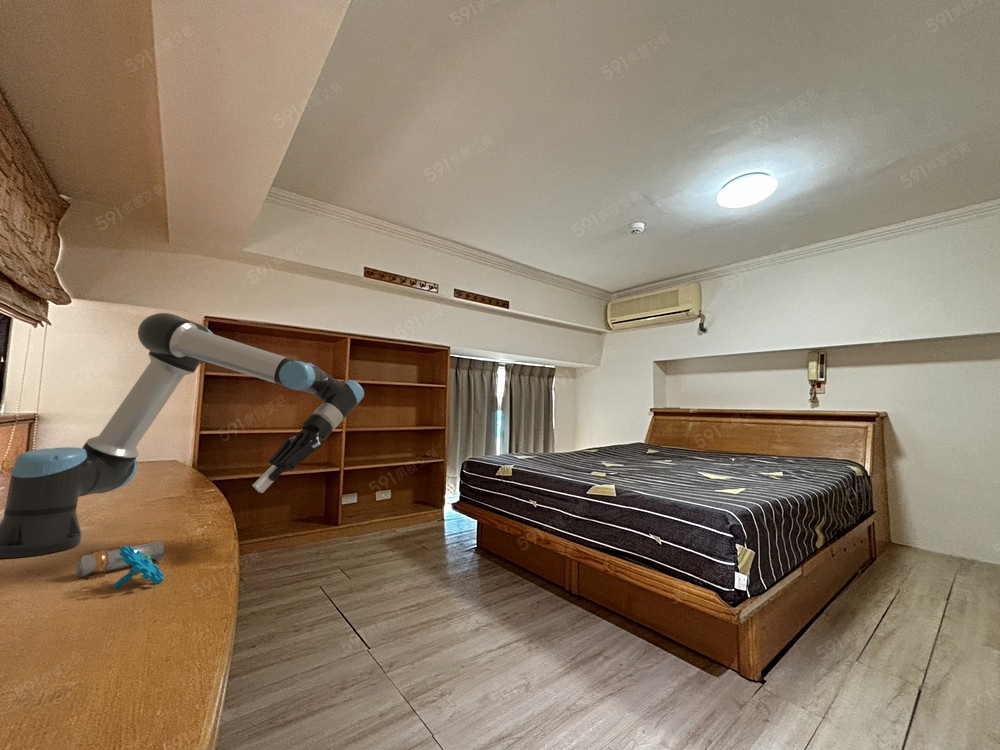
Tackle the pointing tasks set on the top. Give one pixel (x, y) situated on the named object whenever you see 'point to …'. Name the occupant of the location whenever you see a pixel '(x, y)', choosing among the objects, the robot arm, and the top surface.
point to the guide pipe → (114, 560)
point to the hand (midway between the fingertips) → (257, 489)
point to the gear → (139, 566)
